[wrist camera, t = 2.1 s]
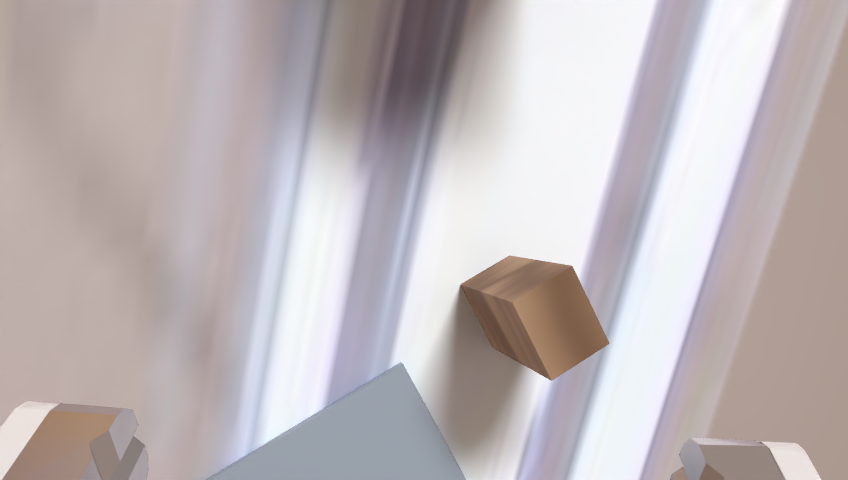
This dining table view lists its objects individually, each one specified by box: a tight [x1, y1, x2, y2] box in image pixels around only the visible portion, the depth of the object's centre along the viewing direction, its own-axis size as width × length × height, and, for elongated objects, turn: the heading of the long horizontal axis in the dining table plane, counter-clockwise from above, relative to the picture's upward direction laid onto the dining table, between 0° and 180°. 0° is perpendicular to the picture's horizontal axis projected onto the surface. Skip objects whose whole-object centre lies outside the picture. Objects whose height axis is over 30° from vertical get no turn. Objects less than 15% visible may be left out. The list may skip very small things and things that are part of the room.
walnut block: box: [461, 256, 609, 381], centre depth 39 cm, size 4×5×9 cm
